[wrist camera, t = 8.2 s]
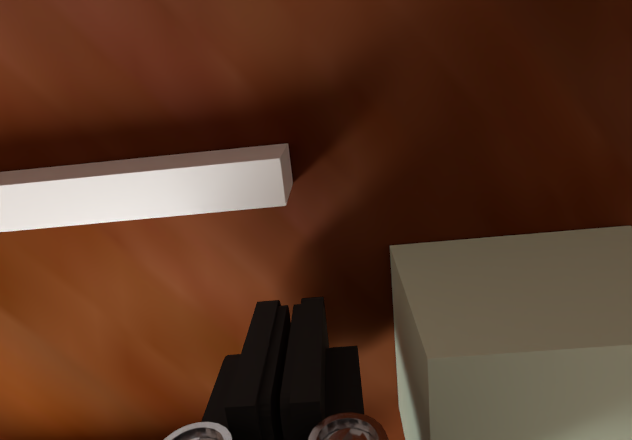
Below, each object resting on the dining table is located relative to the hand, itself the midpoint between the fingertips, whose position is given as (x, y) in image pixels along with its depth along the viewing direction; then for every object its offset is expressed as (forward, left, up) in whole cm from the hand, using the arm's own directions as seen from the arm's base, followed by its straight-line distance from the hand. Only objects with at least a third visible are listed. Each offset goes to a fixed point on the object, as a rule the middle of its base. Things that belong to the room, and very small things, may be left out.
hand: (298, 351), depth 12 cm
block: (-6, 0, -1) cm, 6 cm away
